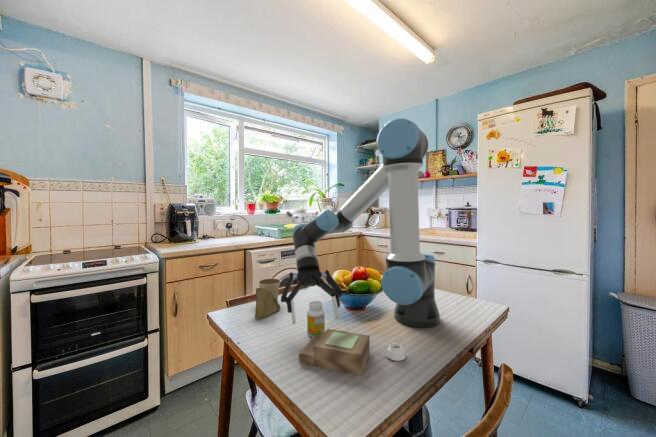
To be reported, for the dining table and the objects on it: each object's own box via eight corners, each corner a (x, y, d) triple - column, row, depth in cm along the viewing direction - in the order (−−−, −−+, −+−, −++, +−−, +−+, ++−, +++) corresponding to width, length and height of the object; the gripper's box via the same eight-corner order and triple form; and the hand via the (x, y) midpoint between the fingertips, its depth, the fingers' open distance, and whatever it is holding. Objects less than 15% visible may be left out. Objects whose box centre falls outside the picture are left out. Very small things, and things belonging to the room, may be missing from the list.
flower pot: (286, 300, 115) (285, 280, 115) (270, 307, 107) (269, 285, 107) (269, 296, 120) (269, 277, 120) (253, 303, 112) (253, 282, 112)
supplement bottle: (305, 331, 87) (304, 301, 86) (321, 328, 89) (321, 299, 88) (310, 339, 82) (309, 307, 81) (327, 336, 84) (326, 304, 83)
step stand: (369, 353, 73) (369, 334, 73) (360, 375, 64) (360, 353, 64) (314, 343, 79) (314, 325, 79) (299, 362, 70) (298, 342, 69)
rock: (278, 299, 109) (253, 299, 106) (283, 286, 105) (256, 285, 101) (280, 324, 101) (253, 325, 98) (285, 311, 97) (256, 311, 93)
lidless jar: (383, 359, 71) (403, 364, 69) (383, 348, 71) (403, 352, 69) (388, 350, 76) (406, 354, 73) (388, 339, 75) (407, 343, 73)
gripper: (338, 265, 103) (352, 320, 89) (270, 269, 97) (274, 329, 83) (342, 253, 98) (357, 310, 84) (271, 257, 91) (275, 319, 78)
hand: (316, 320), depth 83 cm, fingers open, 13 cm apart
